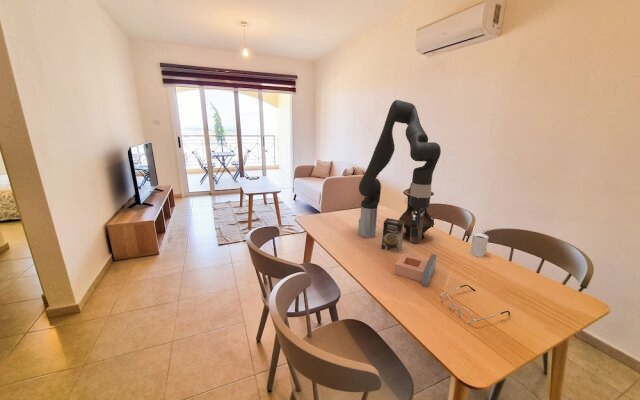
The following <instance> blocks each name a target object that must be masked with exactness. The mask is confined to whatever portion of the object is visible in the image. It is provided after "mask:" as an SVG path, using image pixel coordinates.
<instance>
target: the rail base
mask: <svg viewBox="0 0 640 400" xmlns="http://www.w3.org/2000/svg"><path fill="white" fill-rule="evenodd" d="M427 260H428V262H427V264H426V267H425V269H424V272H423V280H422V282H421V286H422V287H426V288H428V286H429V284H430V281H431V280H432V279H431V278H432V276H433V274H434V272H435V269H436V262H437V254H434V253H431V255H430V257H429V259H427Z"/></svg>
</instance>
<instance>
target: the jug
mask: <svg viewBox="0 0 640 400" xmlns="http://www.w3.org/2000/svg"><path fill="white" fill-rule="evenodd" d="M411 185H412V182H411V183H410V185H409V187H408V188H406V189H405V190H403V192H402V193H403V195H405V196H406V197H407V207H406V210H405V211H404V212H403V213H402V214H401V215H400V217H399V218H398V220H401V221H405V222H404V231H405V232H403V237H404V238H406V239H408V240H410V231H411V228H410V226H411V215H412V211H414V207H412V206H410V205H409V200H410V191H411ZM434 195H435V194H434V192H433V191H431V196H430V197H432V196H434ZM434 225H435V222H434V220H433V218H432V217H431V215H430V214H429V213H428V210H427V208H425V211H424V219H423V228H422V236H421V241H422V240H424V239H425V234H424V233H425V232H427V231H428V230H429V229H430V228H432V227H433V226H434Z"/></svg>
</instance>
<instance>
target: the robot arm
mask: <svg viewBox="0 0 640 400" xmlns="http://www.w3.org/2000/svg"><path fill="white" fill-rule="evenodd" d="M395 123H400V124H405V125H407V126H406V129H405V137H406V139H407V141H408V143H409V148H410V149H409V155H410V157H411V159H412V160H413V161H415V162H424V164H423V165H422V166H417V167H416V168H413V172H412V178H411V183H412V185H411V184H410V185H411V191H410V200H409V205H410V206H412V207H414V211H412V215H411V226H410V228H412V233H411V236H412V237H415V238H416V237H417V234H418V228H419V223H421V217H422V216H423V215H424V211H425V208H426V209H427V208H429V207H430V202H431V197H432V196H431V192H432V180H433V174H434V171H435V169H436V166H437V163H438V162H439V159H440V156H441V150H442V149H441V146H440V144H439V143H437V142H435V141H434V142H432V141H431V142H429V137H428V134H427V133H426V132H425V130H424V128H423V126H422V124H421V122H420V118H419V113H418V111H417V107H416V106H415V104H413V103H411V102H407V101H405V100H404V101H403V100H400V99H396V100H394V101H393V102H392V103H391V105H390V106H389V110H388V112H387V115H386V119H385V121H384V125H383V129H382V131H381V133H380V136H379V138H378V141H377V143H376V146H375V148H374V150H373V154H372V155H371V159H370V161H369V164H368V166H367V168H366V169H365V172H364V174H363V176H362V178H361V179H360V181H359V185H358V191H359V193H360V195H361V196H364V197H365V198H364V199H363V200H361V202H360V215H359V216H360V218H359V219H358V227H357V228H358V229H357V231H358V232H357V233H358V234H357V235H358V236H360V237H363V238H367V239H370V238H372V239H373V238H375V237H376V233H377V220H378V219H377V218H378V206H379V203H380V201H381V200H380V199H381V192H382V185H381V181H380V180H379V179H378V178H377V177H378V175H379V174H380V173H381V172H382V171H383V170H384V169H385V168H386V167H387V165H388V164H389V163H390V161H391V159H392V157H393V156H394V152H395V141H394V136H393V130H394V126H395ZM418 220H419V221H418ZM414 224H416V226H415V225H414Z"/></svg>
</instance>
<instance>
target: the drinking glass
mask: <svg viewBox="0 0 640 400" xmlns="http://www.w3.org/2000/svg"><path fill="white" fill-rule="evenodd" d="M488 242H489V236H488V235H487V234H484V233H480V232H475V233H472V238H471V245H470V246H471V247H470V254H471V255H472V256H474V257H478V258H483V257H485V253H486V250H487V249H486V248H487V246H488Z"/></svg>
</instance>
